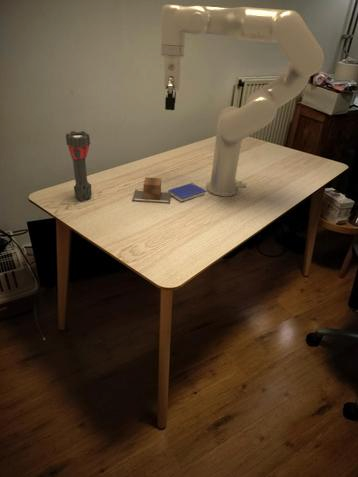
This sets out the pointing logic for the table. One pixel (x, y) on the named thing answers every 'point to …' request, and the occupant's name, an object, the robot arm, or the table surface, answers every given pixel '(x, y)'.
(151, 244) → the table surface
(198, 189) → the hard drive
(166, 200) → the mat
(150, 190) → the cube
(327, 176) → the table surface
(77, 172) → the flashlight
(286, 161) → the table surface
